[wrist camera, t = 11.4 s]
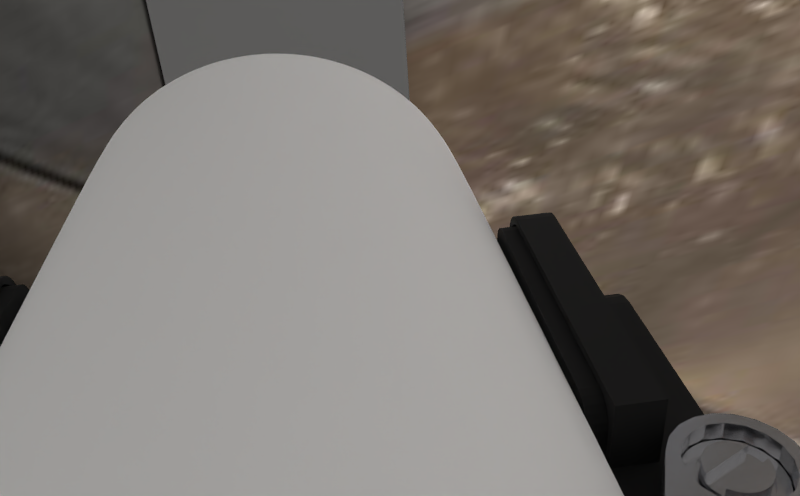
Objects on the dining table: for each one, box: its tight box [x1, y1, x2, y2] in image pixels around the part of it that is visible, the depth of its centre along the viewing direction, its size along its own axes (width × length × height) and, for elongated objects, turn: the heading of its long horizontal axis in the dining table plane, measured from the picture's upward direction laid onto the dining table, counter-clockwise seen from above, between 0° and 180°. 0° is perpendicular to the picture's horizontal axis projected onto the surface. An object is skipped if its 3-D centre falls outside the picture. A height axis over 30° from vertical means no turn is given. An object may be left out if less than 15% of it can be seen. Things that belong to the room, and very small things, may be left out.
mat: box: [146, 0, 409, 100], centre depth 22 cm, size 7×7×1 cm
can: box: [0, 54, 624, 496], centre depth 8 cm, size 6×6×12 cm
